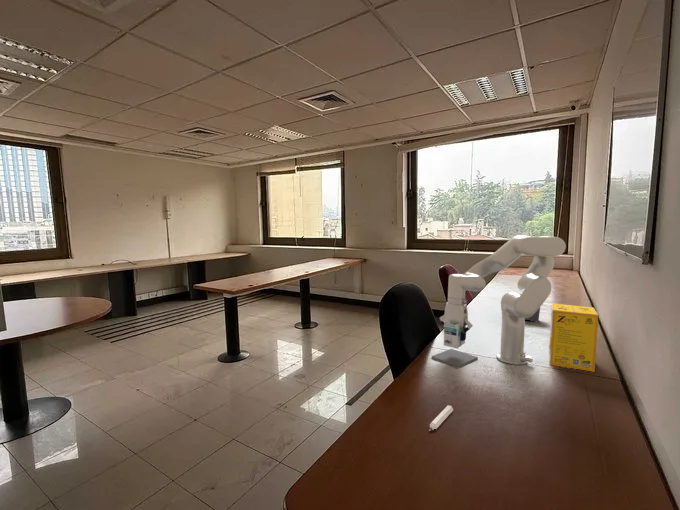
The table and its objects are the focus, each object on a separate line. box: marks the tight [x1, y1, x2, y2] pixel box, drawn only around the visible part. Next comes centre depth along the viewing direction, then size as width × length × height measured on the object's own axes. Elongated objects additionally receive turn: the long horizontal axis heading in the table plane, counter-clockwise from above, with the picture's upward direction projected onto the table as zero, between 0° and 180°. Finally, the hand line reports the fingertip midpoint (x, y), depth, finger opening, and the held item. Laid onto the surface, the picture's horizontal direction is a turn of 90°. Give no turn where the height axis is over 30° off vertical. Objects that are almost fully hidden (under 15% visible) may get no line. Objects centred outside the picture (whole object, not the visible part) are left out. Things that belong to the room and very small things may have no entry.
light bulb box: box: [443, 321, 466, 350], centre depth 157 cm, size 11×7×11 cm, turn 142°
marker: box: [428, 404, 454, 432], centre depth 107 cm, size 3×2×16 cm
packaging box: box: [548, 303, 599, 373], centre depth 153 cm, size 16×16×25 cm
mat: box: [431, 348, 479, 369], centre depth 158 cm, size 14×16×1 cm
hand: (454, 337), depth 157 cm, fingers closed on light bulb box, 7 cm apart
